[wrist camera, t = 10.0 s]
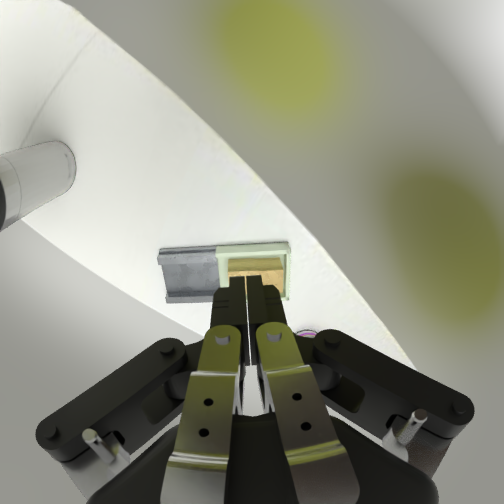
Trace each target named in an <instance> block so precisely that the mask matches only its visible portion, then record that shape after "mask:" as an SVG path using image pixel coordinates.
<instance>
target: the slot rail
mask: <svg viewBox="0 0 504 504" xmlns="http://www.w3.org/2000/svg"><path fill="white" fill-rule="evenodd" d="M215 253H216V246H204V247H187V248H170V249H160V251H159V255H158V257H157V260H158V265H162V270H163V275H164V280H165V285H166V289H167V294H166V297H165V298H166V302H167V303H201V302H213V295H214V293H215V292H216V290H217V289H218V288H220V279H219V269H218V259H217V257H216V255H215Z"/></svg>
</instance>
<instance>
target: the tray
mask: <svg viewBox="0 0 504 504" xmlns="http://www.w3.org/2000/svg"><path fill="white" fill-rule="evenodd" d="M215 255H216V257H217V259H218V269H219V279H220V287H229V282H228V259H244V258H254V259H258V258H277V257H280V260H281V263H282V267H283V293H280V296H281V300H282V301H285V300H289V292H290V264H291V249H290V246H289V244H288V242H279V243H259V244H241V245H222V246H216V253H215ZM246 303H247V294H246Z"/></svg>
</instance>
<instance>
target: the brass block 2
mask: <svg viewBox="0 0 504 504" xmlns="http://www.w3.org/2000/svg"><path fill="white" fill-rule="evenodd" d="M254 262H255V269H256V275H261V276H262V282H263V285H274V286H275V287H276V288H277V289H278V290H279V292H280V293H283V267H282V263H281V260H280V257H277V258H258V259H254Z"/></svg>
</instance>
